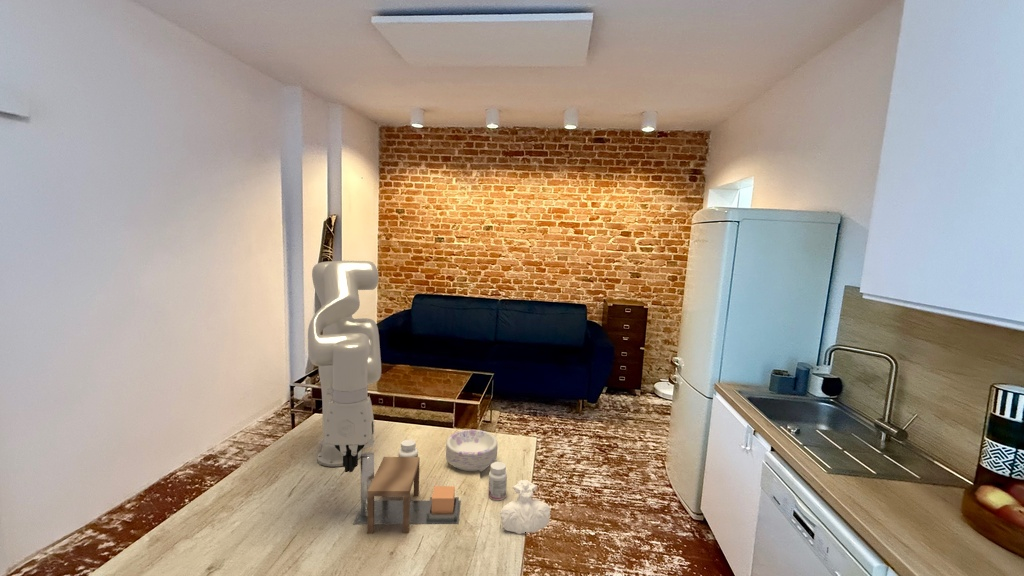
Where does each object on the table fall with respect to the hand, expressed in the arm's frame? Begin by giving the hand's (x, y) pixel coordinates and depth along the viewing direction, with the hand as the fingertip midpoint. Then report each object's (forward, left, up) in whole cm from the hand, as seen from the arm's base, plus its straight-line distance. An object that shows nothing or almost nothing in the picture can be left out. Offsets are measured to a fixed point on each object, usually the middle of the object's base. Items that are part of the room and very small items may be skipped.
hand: (350, 469), depth 100 cm
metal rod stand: (+11, +8, -12) cm, 18 cm away
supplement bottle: (-3, +21, -12) cm, 24 cm away
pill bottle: (+23, +28, -12) cm, 38 cm away
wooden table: (+11, +8, -12) cm, 18 cm away
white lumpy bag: (+35, +22, -12) cm, 43 cm away
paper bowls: (+8, +36, -12) cm, 39 cm away
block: (+18, +13, -11) cm, 24 cm away
